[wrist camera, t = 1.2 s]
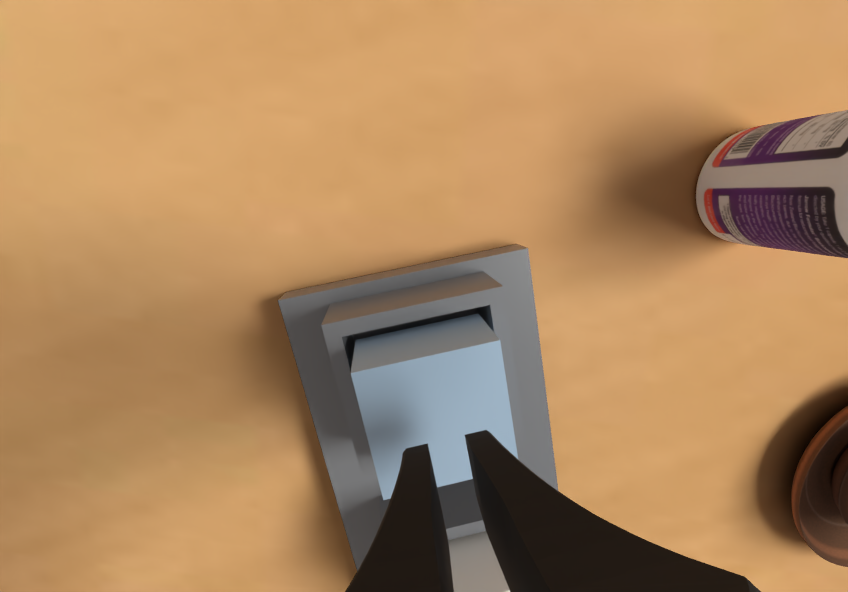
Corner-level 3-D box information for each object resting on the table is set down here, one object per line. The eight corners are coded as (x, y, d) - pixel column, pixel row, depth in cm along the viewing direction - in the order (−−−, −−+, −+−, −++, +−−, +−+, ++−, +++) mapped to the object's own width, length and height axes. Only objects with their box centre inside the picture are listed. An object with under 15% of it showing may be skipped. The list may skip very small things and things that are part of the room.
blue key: (495, 421, 17) (519, 467, 14) (382, 447, 17) (383, 500, 14) (478, 313, 16) (500, 340, 13) (355, 339, 16) (350, 373, 13)
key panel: (556, 545, 24) (595, 622, 20) (371, 592, 24) (370, 682, 19) (516, 244, 20) (556, 258, 15) (285, 292, 19) (258, 321, 15)
